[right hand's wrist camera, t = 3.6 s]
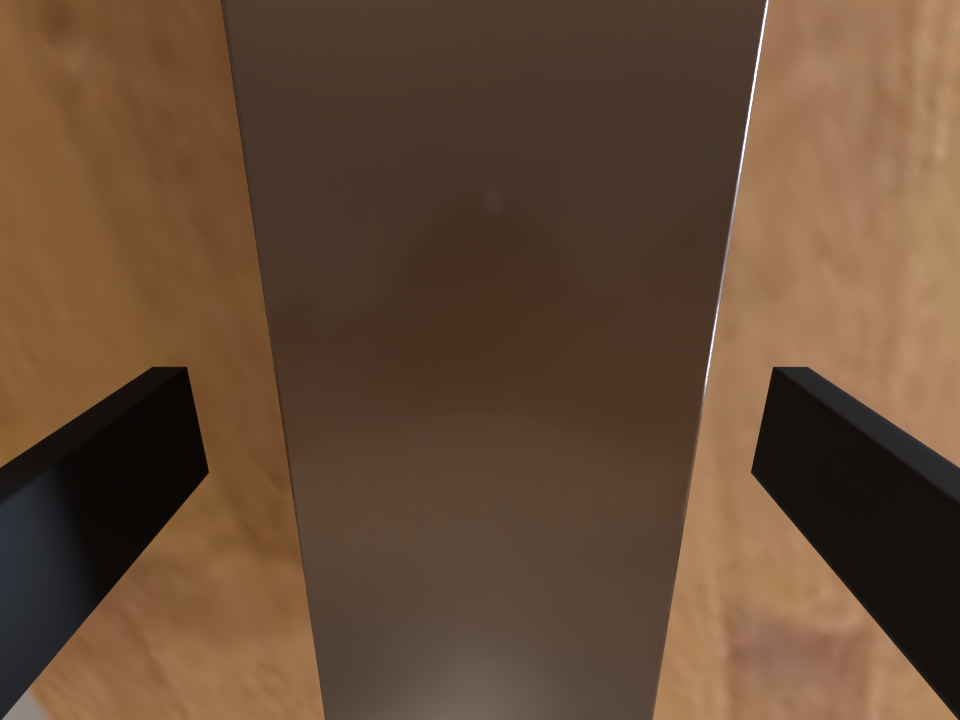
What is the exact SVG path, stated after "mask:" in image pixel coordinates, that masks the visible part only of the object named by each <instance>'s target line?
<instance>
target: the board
mask: <svg viewBox="0 0 960 720" xmlns="http://www.w3.org/2000/svg"><path fill="white" fill-rule="evenodd" d="M768 2H769V0H221V3H222V10H223V17H224V23H225V30H226V37H227V44H228V51H229V58H230V65H231V72H232V79H233V86H234V93H235V99H236V106H237V113H238V120H239V127H240V134H241V141H242V148H243V155H244V162H245V169H246V175H247V182H248V189H249V196H250V203H251V210H252V217H253V224H254V231H255V238H256V245H257V251H258V258H259V265H260V272H261V279H262V286H263V293H264V300H265V307H266V314H267V320H268V327H269V334H270V341H271V348H272V355H273V362H274V369H275V376H276V383H277V390H278V396H279V403H280V410H281V417H282V424H283V431H284V438H285V445H286V452H287V459H288V466H289V472H290V479H291V486H292V493H293V500H294V507H295V514H296V521H297V528H298V535H299V542H300V548H301V555H302V562H303V569H304V576H305V583H306V590H307V597H308V604H309V611H310V618H311V624H312V631H313V638H314V645H315V652H316V659H317V666H318V673H319V680H320V687H321V693H322V700H323V707H324V714H325V720H653V714H654V708H655V702H656V696H657V689H658V683H659V677H660V671H661V665H662V659H663V652H664V646H665V640H666V634H667V628H668V621H669V615H670V609H671V603H672V597H673V590H674V584H675V578H676V572H677V566H678V559H679V553H680V547H681V541H682V535H683V529H684V522H685V516H686V510H687V504H688V498H689V491H690V485H691V479H692V473H693V467H694V460H695V454H696V448H697V442H698V436H699V429H700V423H701V417H702V411H703V405H704V399H705V392H706V386H707V380H708V374H709V368H710V361H711V355H712V349H713V343H714V337H715V330H716V324H717V318H718V312H719V306H720V300H721V293H722V287H723V281H724V275H725V269H726V262H727V256H728V250H729V244H730V238H731V231H732V225H733V219H734V213H735V207H736V200H737V194H738V188H739V182H740V176H741V170H742V163H743V157H744V151H745V145H746V139H747V132H748V126H749V120H750V114H751V108H752V101H753V95H754V89H755V83H756V77H757V70H758V64H759V58H760V52H761V46H762V40H763V33H764V27H765V21H766V15H767V9H768Z"/></svg>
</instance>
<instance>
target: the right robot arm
mask: <svg viewBox="0 0 960 720" xmlns="http://www.w3.org/2000/svg"><path fill="white" fill-rule="evenodd" d="M208 473H209V470H208V465H207V461H206V456H205V451H204V446H203V442H202V437H201V432H200V427H199V423H198V418H197V413H196V408H195V404H194V399H193V394H192V389H191V385H190V380H189V375H188V370H187V367H152V368H150V369H149V370H147V371H146V372H144V373H143V374H141V375H140V376H138V377H137V378H135V379H134V380H132V381H131V382H129V383H128V384H126V385H125V386H123V387H122V388H120V389H119V390H117V391H116V392H114V393H113V394H111V395H110V396H108V397H107V398H105V399H104V400H102V401H101V402H99V403H98V404H96V405H94V406H93V407H91V408H90V409H88V410H87V411H85V412H84V413H82V414H81V415H79V416H78V417H76V418H75V419H73V420H72V421H70V422H69V423H67V424H66V425H64V426H63V427H61V428H60V429H58V430H57V431H55V432H54V433H52V434H51V435H49V436H48V437H46V438H45V439H43V440H42V441H40V442H39V443H37V444H36V445H34V446H33V447H31V448H30V449H28V450H27V451H25V452H24V453H22V454H21V455H19V456H18V457H16V458H15V459H13V460H12V461H10V462H9V463H7V464H6V465H4V466H3V467H1V468H0V720H2V719H3V717H4V716H5V715H6V714H7V713H8V712H9V710H10V709H11V708H12V707H13V706H14V704H15V703H16V702H17V701H18V700H19V698H20V697H21V696H22V695H23V694H24V692H25V691H26V690H27V689H28V688H29V687H30V685H31V684H32V683H33V682H34V681H35V679H36V678H37V677H38V676H39V675H40V673H41V672H42V671H43V670H44V669H45V667H46V666H47V665H48V664H49V663H50V662H51V660H52V659H53V658H54V657H55V656H56V654H57V653H58V652H59V651H60V650H61V648H62V647H63V646H64V645H65V644H66V642H67V641H68V640H69V639H70V638H71V636H72V635H73V634H74V633H75V632H76V631H77V629H78V628H79V627H80V626H81V625H82V623H83V622H84V621H85V620H86V619H87V617H88V616H89V615H90V614H91V613H92V611H93V610H94V609H95V608H96V607H97V606H98V604H99V603H100V602H101V601H102V600H103V598H104V597H105V596H106V595H107V594H108V592H109V591H110V590H111V589H112V588H113V586H114V585H115V584H116V583H117V582H118V580H119V579H120V578H121V577H122V576H123V575H124V573H125V572H126V571H127V570H128V569H129V567H130V566H131V565H132V564H133V563H134V561H135V560H136V559H137V558H138V557H139V555H140V554H141V553H142V552H143V551H144V549H145V548H146V547H147V546H148V545H149V544H150V542H151V541H152V540H153V539H154V538H155V536H156V535H157V534H158V533H159V532H160V530H161V529H162V528H163V527H164V526H165V524H166V523H167V522H168V521H169V520H170V519H171V517H172V516H173V515H174V514H175V513H176V511H177V510H178V509H179V508H180V507H181V505H182V504H183V503H184V502H185V501H186V499H187V498H188V497H189V496H190V495H191V493H192V492H193V491H194V490H195V489H196V488H197V486H198V485H199V484H200V483H201V482H202V480H203V479H204V478H205V477H206V476H207V474H208ZM751 473H752V474H753V476H754V477H755V478H756V479H757V480H758V482H759V483H760V484H761V485H762V486H763V488H764V489H765V490H766V491H767V492H768V493H769V495H770V496H771V497H772V498H773V499H774V501H775V502H776V503H777V504H778V505H779V507H780V508H781V509H782V510H783V511H784V513H785V514H786V515H787V516H788V517H789V519H790V520H791V521H792V522H793V523H794V524H795V526H796V527H797V528H798V529H799V530H800V532H801V533H802V534H803V535H804V536H805V538H806V539H807V540H808V541H809V542H810V544H811V545H812V546H813V547H814V548H815V549H816V551H817V552H818V553H819V554H820V555H821V557H822V558H823V559H824V560H825V561H826V563H827V564H828V565H829V566H830V567H831V569H832V570H833V571H834V572H835V573H836V575H837V576H838V577H839V578H840V579H841V580H842V582H843V583H844V584H845V585H846V586H847V588H848V589H849V590H850V591H851V592H852V594H853V595H854V596H855V597H856V598H857V600H858V601H859V602H860V603H861V604H862V606H863V607H864V608H865V609H866V610H867V611H868V613H869V614H870V615H871V616H872V617H873V619H874V620H875V621H876V622H877V623H878V625H879V626H880V627H881V628H882V629H883V631H884V632H885V633H886V634H887V635H888V636H889V638H890V639H891V640H892V641H893V642H894V644H895V645H896V646H897V647H898V648H899V650H900V651H901V652H902V653H903V654H904V656H905V657H906V658H907V659H908V660H909V662H910V663H911V664H912V665H913V666H914V667H915V669H916V670H917V671H918V672H919V673H920V675H921V676H922V677H923V678H924V679H925V681H926V682H927V683H928V684H929V685H930V687H931V688H932V689H933V690H934V691H935V692H936V694H937V695H938V696H939V697H940V698H941V700H942V701H943V702H944V703H945V704H946V706H947V707H948V708H949V709H950V710H951V712H952V713H953V714H954V715H955V716H956V718H957V719H958V720H960V468H959V467H957V466H956V465H954V464H953V463H951V462H950V461H948V460H947V459H945V458H944V457H942V456H941V455H939V454H938V453H936V452H935V451H933V450H932V449H930V448H929V447H927V446H926V445H924V444H923V443H921V442H920V441H918V440H917V439H915V438H914V437H912V436H911V435H909V434H908V433H906V432H905V431H903V430H902V429H900V428H899V427H897V426H896V425H894V424H893V423H891V422H890V421H888V420H887V419H885V418H884V417H882V416H881V415H879V414H878V413H876V412H875V411H873V410H872V409H870V408H869V407H867V406H866V405H864V404H862V403H861V402H859V401H858V400H856V399H855V398H853V397H852V396H850V395H849V394H847V393H846V392H844V391H843V390H841V389H840V388H838V387H837V386H835V385H834V384H832V383H831V382H829V381H828V380H826V379H825V378H823V377H822V376H820V375H819V374H817V373H816V372H814V371H813V370H811V369H810V368H808V367H773V370H772V375H771V380H770V385H769V389H768V394H767V399H766V404H765V408H764V413H763V418H762V423H761V427H760V432H759V437H758V442H757V446H756V451H755V456H754V461H753V465H752V470H751Z"/></svg>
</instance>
